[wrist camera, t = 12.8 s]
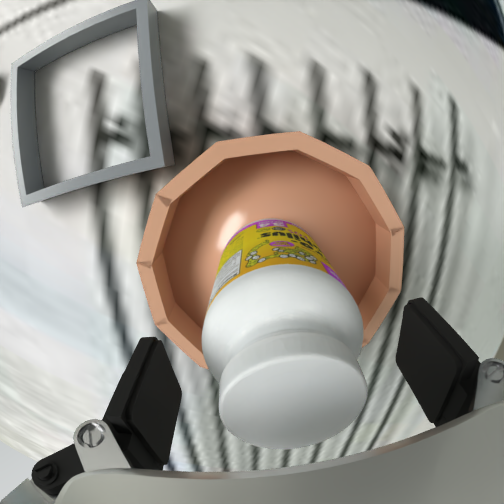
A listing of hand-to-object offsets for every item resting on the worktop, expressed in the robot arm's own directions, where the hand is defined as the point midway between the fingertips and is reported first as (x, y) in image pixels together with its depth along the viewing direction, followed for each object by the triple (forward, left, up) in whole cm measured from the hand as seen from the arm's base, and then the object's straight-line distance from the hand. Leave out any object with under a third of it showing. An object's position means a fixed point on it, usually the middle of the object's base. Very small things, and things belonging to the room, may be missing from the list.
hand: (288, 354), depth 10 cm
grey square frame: (-13, -12, -11) cm, 21 cm away
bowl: (+1, 0, -11) cm, 11 cm away
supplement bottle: (0, 0, -10) cm, 10 cm away
